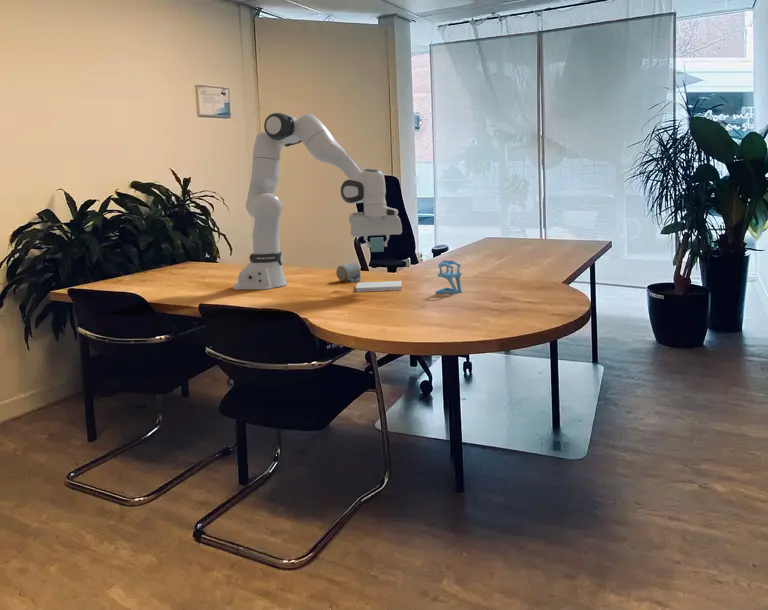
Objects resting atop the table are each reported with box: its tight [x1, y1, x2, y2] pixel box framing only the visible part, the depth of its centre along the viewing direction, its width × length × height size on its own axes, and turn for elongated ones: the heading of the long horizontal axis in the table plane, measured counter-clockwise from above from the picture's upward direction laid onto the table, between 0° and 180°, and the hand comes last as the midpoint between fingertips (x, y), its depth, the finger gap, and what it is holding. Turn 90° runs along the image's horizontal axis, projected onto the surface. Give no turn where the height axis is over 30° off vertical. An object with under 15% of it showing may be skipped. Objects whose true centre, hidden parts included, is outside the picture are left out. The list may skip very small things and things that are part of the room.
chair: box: [435, 259, 463, 295], centre depth 241 cm, size 8×8×12 cm
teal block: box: [369, 236, 385, 253], centre depth 255 cm, size 5×5×5 cm
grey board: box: [355, 280, 403, 293], centre depth 258 cm, size 18×12×2 cm, turn 89°
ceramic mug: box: [335, 261, 362, 283], centre depth 278 cm, size 11×8×8 cm
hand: (377, 246), depth 255 cm, fingers closed on teal block, 5 cm apart
